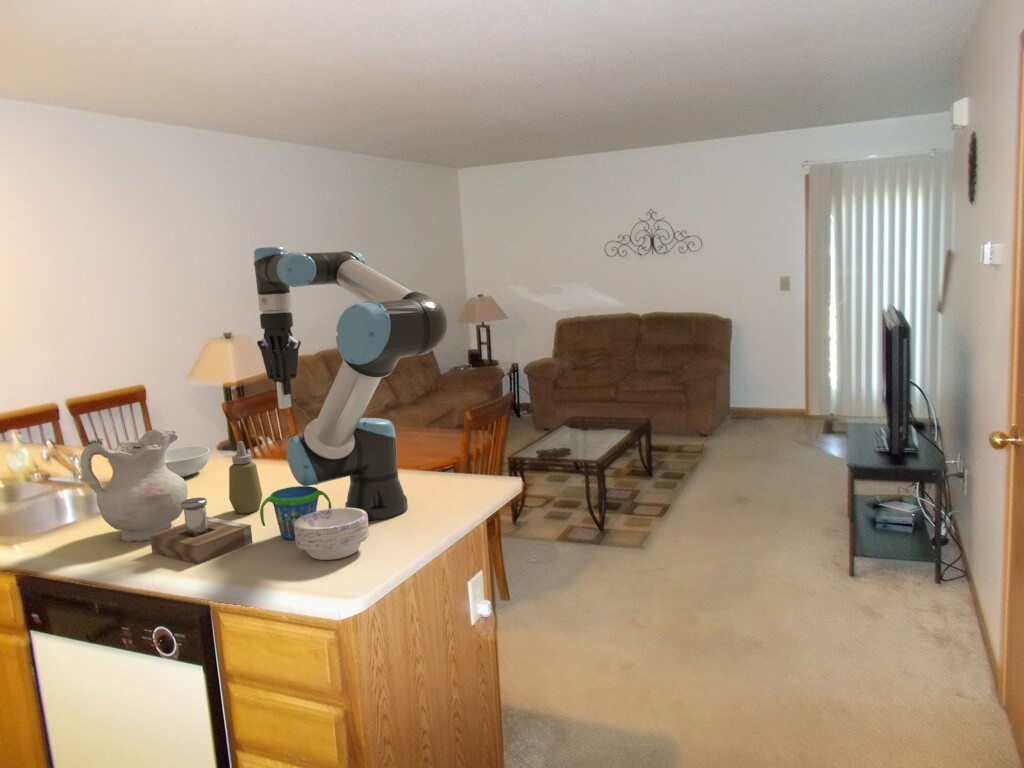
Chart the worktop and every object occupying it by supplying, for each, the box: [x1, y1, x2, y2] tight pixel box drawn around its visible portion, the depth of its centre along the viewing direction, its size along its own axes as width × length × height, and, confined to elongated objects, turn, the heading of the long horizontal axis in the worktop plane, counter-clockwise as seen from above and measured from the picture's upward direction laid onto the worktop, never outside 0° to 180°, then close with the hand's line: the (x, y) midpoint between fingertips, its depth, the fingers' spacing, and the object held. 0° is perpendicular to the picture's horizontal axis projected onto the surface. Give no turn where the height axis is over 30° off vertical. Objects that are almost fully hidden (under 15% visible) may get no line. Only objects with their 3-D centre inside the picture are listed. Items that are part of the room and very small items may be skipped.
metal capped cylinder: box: [181, 497, 208, 538], centre depth 173 cm, size 5×5×11 cm
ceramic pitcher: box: [80, 428, 189, 543], centre depth 185 cm, size 22×20×25 cm
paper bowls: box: [294, 507, 370, 561], centre depth 167 cm, size 15×15×8 cm
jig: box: [149, 516, 253, 565], centre depth 175 cm, size 16×14×4 cm
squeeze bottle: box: [228, 440, 263, 515], centre depth 200 cm, size 8×8×18 cm
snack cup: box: [259, 485, 333, 541], centre depth 179 cm, size 16×10×10 cm
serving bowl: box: [165, 445, 211, 479], centre depth 241 cm, size 21×21×7 cm
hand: (285, 407), depth 195 cm, fingers closed
